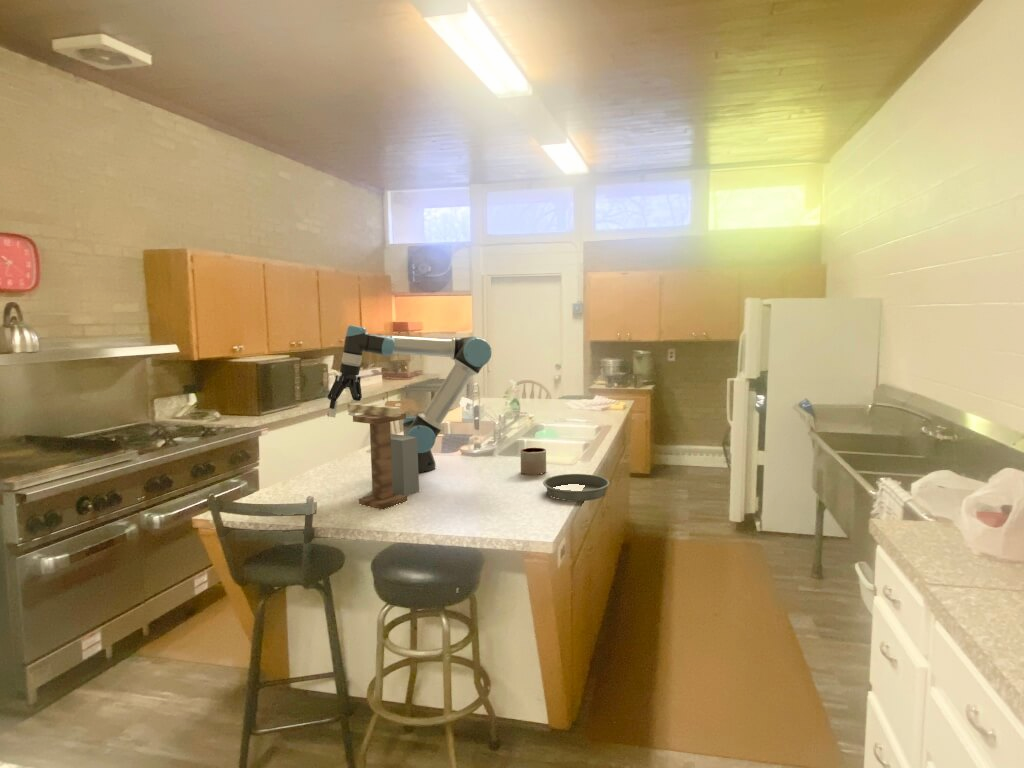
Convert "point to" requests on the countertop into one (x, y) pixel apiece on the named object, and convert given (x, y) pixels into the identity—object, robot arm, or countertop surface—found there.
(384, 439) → the walnut stand
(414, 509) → the countertop surface
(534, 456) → the planter
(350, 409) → the birch bar
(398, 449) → the slate block
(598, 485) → the cake pan
